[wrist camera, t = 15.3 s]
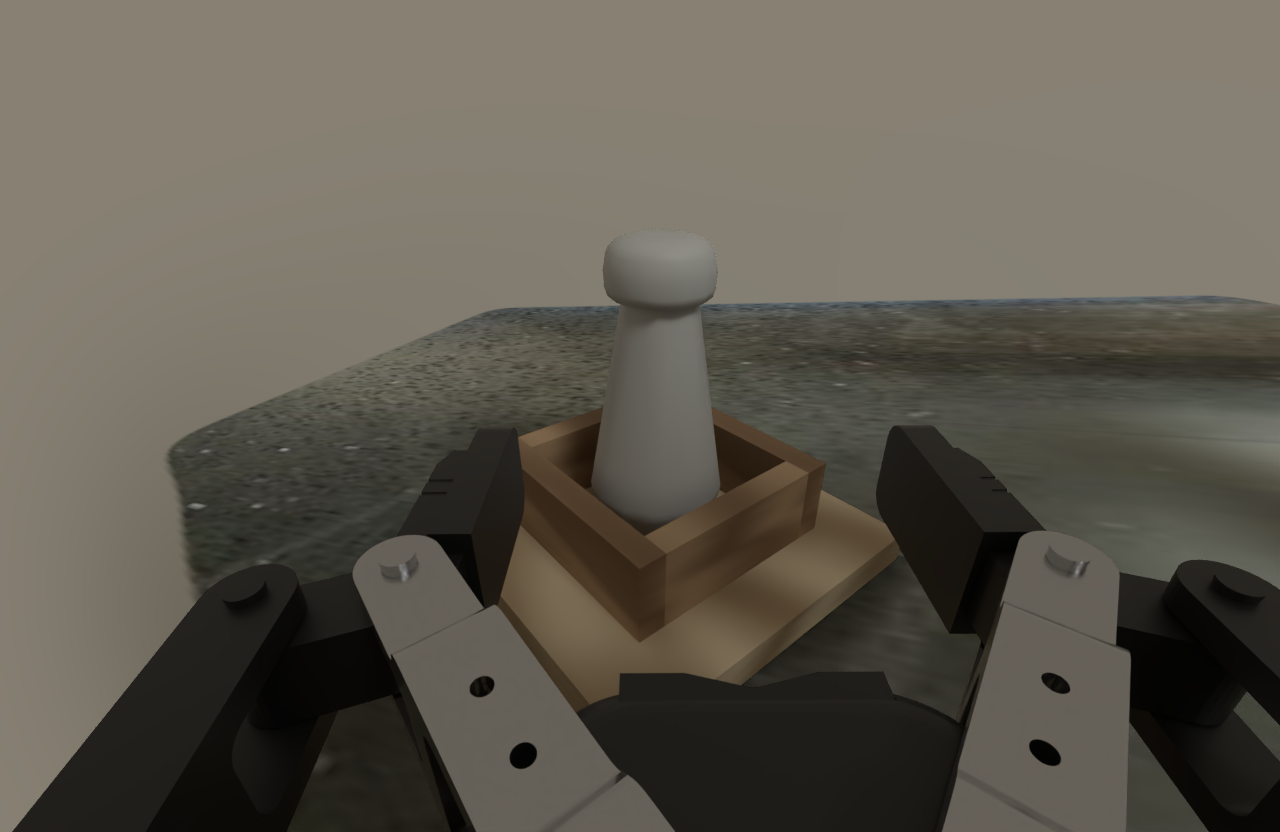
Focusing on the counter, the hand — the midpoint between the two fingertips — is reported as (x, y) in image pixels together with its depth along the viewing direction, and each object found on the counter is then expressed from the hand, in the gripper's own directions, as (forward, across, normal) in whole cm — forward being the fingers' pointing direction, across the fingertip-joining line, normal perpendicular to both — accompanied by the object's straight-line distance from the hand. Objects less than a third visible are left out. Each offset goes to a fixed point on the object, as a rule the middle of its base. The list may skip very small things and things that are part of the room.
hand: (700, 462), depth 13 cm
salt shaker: (+11, +1, +11) cm, 15 cm away
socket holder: (+11, +1, +12) cm, 16 cm away
